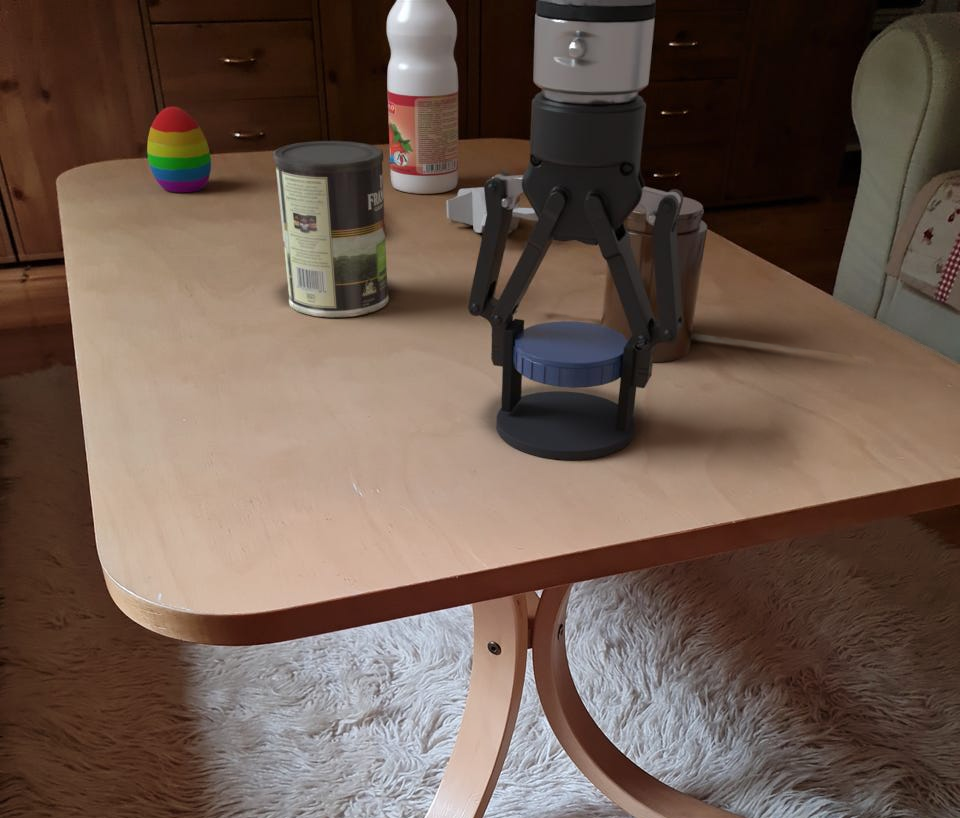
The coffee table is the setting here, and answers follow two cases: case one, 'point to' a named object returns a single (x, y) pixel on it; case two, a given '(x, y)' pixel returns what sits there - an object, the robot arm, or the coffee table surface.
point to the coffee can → (333, 227)
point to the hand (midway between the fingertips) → (566, 413)
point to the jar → (690, 264)
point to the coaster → (564, 426)
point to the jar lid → (569, 354)
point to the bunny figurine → (480, 210)
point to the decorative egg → (178, 152)
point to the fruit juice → (422, 96)
